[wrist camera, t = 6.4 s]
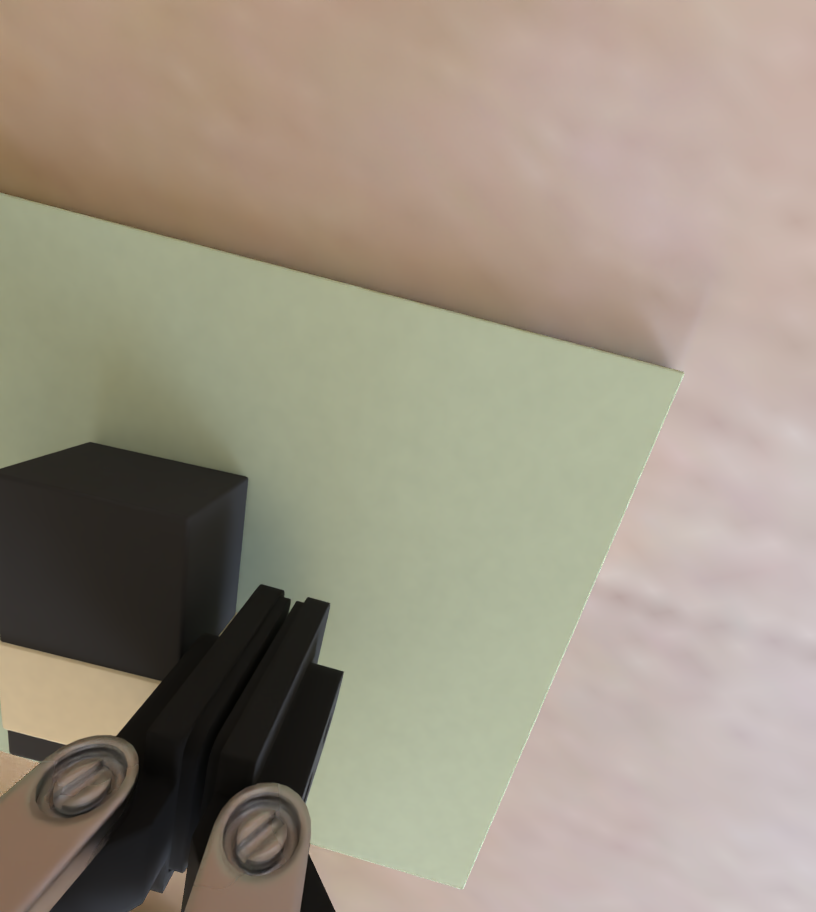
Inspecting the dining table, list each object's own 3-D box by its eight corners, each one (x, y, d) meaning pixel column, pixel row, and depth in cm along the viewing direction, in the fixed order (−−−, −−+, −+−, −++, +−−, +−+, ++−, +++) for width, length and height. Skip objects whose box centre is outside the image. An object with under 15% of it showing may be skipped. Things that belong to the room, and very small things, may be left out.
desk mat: (-535, 52, 10) (-603, 33, 10) (676, 370, 9) (693, 374, 9) (-362, 628, 15) (-400, 642, 14) (462, 875, 14) (463, 903, 13)
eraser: (89, 439, 11) (-22, 472, 8) (253, 475, 11) (189, 520, 8) (92, 673, 13) (3, 756, 10) (230, 707, 13) (173, 801, 10)
